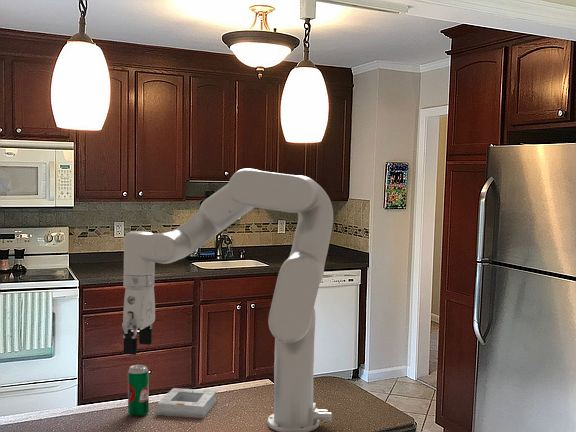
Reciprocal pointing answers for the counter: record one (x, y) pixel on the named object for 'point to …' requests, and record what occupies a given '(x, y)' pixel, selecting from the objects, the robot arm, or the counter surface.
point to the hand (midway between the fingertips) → (138, 348)
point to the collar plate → (186, 403)
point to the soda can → (138, 390)
